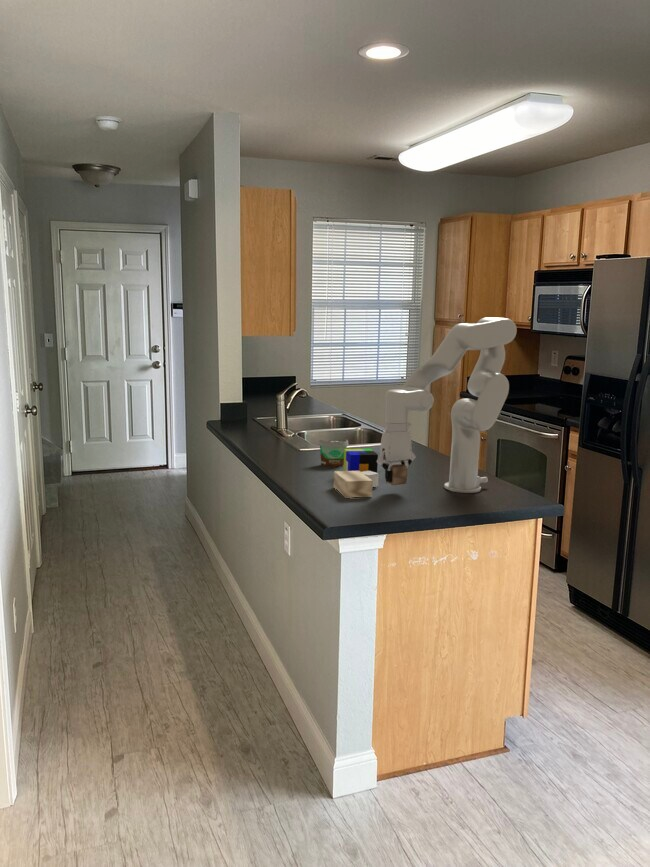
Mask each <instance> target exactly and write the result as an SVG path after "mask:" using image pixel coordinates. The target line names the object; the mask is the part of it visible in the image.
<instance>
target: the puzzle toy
mask: <svg viewBox="0 0 650 867" xmlns="http://www.w3.org/2000/svg"><path fill="white" fill-rule="evenodd" d="M378 458H379V454H378V453H376V452H375V450H373V449H371V448H346V449H344V466H343V470H342V471H360V472H363V471H372V472H376V473H378V465H379V463H377V459H378Z"/></svg>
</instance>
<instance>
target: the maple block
mask: <svg viewBox="0 0 650 867" xmlns="http://www.w3.org/2000/svg"><path fill="white" fill-rule="evenodd" d="M372 483H373V481H372V480H371V479H370V478H368V477H367V476H366V475H364V474H363V473H362V472H360V471H343V470H336V471H334V472H333V489H334V488H335V490H336V489H337V490H338V491H339V492H340V493H341V494H342V495H343V496H344V497H345V498H347V497H348V498H349V497H350V499H352V498H351V497H372V498H373V488H372ZM337 490H336V491H337ZM338 491H337V492H338ZM339 492H338V493H339ZM340 493H339V494H340ZM341 494H340V495H341ZM342 495H341V496H342ZM343 496H342V497H343ZM344 497H343V498H344Z"/></svg>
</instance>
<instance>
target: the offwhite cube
mask: <svg viewBox="0 0 650 867" xmlns="http://www.w3.org/2000/svg"><path fill="white" fill-rule="evenodd" d="M362 473H363V474H364V475H366V476H367V477H368V478H370V479H371V480H372V481H373V483H372V487H376V488H378V487H379V480H380V478H379V477H380V474H379V473H378V472H377V473H376V472H372V471H363V472H362ZM377 486H378V487H377Z"/></svg>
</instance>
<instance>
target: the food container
mask: <svg viewBox="0 0 650 867" xmlns="http://www.w3.org/2000/svg"><path fill="white" fill-rule="evenodd" d="M318 446H319V452H320V453H319V454H320V465H321V466H323V465H324V466H323V467H327V466H328V467H329V468H338V467H337V466H341V467H344V466H343V465H344V449H348V448H347V447H348V446H349V440H348V438H345V440H328V441H326V440H321V439H319V441H318ZM328 467H327V468H328Z"/></svg>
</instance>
